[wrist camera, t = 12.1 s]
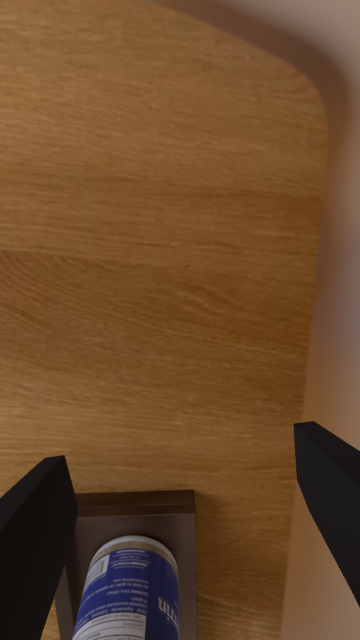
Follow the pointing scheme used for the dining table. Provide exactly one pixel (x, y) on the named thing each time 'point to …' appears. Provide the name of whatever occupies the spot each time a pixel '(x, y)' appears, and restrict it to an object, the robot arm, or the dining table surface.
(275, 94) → the dining table surface
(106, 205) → the dining table surface
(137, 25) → the dining table surface
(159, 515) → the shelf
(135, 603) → the pill bottle
